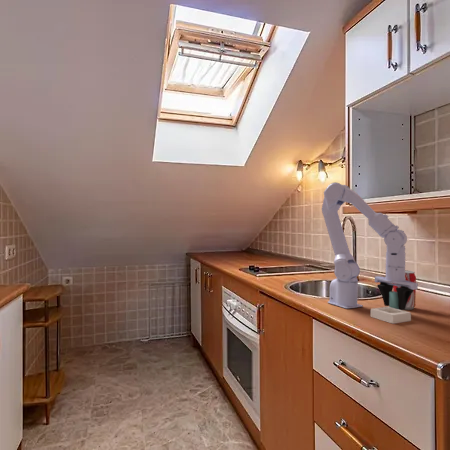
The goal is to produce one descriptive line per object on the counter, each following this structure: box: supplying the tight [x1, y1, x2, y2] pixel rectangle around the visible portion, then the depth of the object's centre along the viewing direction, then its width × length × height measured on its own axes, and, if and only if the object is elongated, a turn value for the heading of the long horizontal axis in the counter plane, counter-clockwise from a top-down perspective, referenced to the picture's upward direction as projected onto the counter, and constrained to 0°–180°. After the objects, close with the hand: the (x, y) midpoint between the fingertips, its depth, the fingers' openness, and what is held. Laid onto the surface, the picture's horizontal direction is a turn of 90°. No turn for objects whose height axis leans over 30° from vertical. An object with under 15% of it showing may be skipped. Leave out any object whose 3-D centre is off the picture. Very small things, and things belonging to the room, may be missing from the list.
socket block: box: [370, 306, 412, 324], centre depth 105 cm, size 8×8×2 cm
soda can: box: [392, 269, 417, 311], centre depth 119 cm, size 7×7×13 cm
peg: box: [388, 290, 399, 309], centre depth 111 cm, size 3×3×7 cm
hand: (394, 307), depth 111 cm, fingers open, 5 cm apart
